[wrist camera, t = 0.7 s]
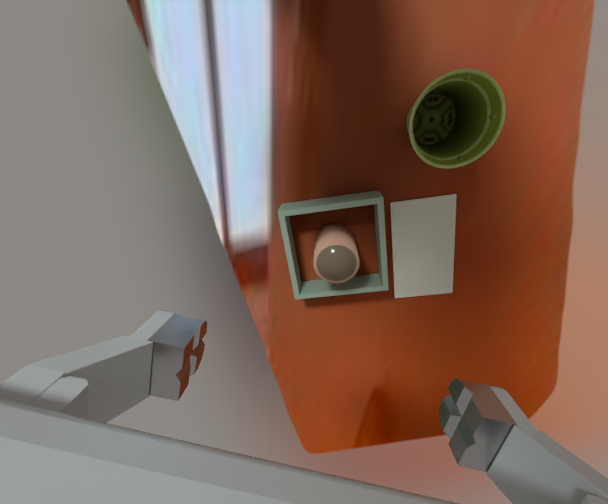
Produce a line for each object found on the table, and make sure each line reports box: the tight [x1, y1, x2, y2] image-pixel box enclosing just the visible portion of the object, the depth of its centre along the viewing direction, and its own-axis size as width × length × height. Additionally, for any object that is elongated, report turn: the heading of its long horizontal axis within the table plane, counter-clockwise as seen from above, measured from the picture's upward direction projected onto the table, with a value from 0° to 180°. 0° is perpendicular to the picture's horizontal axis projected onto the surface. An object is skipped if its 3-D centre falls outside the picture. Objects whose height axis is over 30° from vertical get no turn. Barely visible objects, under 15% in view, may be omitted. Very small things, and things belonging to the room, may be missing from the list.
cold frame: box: [278, 190, 389, 300], centre depth 45 cm, size 14×14×4 cm
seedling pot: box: [313, 223, 360, 283], centre depth 43 cm, size 6×6×8 cm
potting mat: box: [390, 194, 457, 298], centre depth 46 cm, size 16×9×1 cm, turn 9°
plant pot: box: [406, 69, 506, 169], centre depth 35 cm, size 9×9×9 cm
